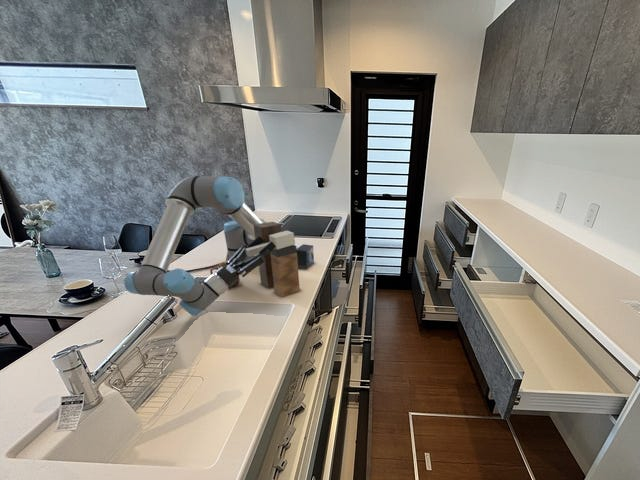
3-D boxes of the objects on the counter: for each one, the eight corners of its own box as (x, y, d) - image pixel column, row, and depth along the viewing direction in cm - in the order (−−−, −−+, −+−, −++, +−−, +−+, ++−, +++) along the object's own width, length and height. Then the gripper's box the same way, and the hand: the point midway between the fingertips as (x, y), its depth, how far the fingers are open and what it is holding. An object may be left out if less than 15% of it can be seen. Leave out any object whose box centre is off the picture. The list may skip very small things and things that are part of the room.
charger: (250, 257, 115) (248, 245, 112) (245, 254, 118) (242, 242, 116) (295, 244, 127) (293, 232, 125) (288, 241, 130) (287, 230, 128)
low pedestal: (281, 297, 129) (277, 257, 122) (274, 292, 133) (270, 253, 126) (299, 290, 135) (296, 252, 128) (292, 286, 139) (289, 249, 132)
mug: (240, 280, 144) (237, 259, 140) (243, 287, 137) (239, 266, 133) (213, 284, 139) (208, 263, 135) (213, 291, 132) (209, 270, 128)
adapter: (277, 257, 122) (276, 249, 121) (270, 253, 126) (269, 246, 125) (296, 252, 128) (296, 245, 127) (289, 249, 132) (288, 242, 131)
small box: (307, 269, 158) (306, 250, 154) (295, 268, 159) (294, 249, 155) (314, 263, 168) (313, 244, 164) (303, 261, 169) (302, 243, 165)
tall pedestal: (268, 288, 137) (261, 227, 126) (261, 283, 141) (253, 224, 130) (286, 283, 143) (280, 224, 131) (278, 278, 147) (272, 221, 136)
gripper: (217, 278, 121) (259, 242, 130) (240, 296, 107) (286, 254, 116) (204, 265, 116) (249, 228, 125) (227, 282, 102) (276, 240, 111)
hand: (267, 241), depth 120 cm, fingers open, 9 cm apart
